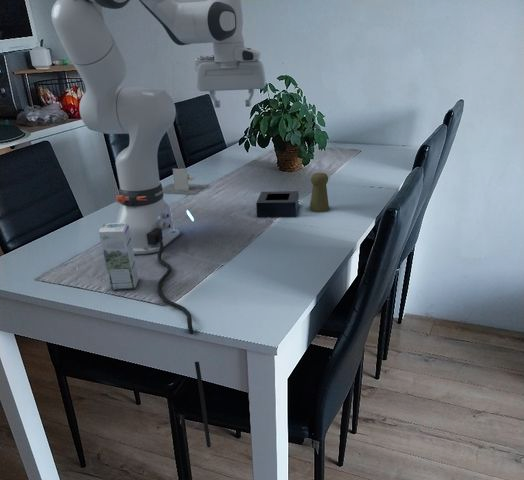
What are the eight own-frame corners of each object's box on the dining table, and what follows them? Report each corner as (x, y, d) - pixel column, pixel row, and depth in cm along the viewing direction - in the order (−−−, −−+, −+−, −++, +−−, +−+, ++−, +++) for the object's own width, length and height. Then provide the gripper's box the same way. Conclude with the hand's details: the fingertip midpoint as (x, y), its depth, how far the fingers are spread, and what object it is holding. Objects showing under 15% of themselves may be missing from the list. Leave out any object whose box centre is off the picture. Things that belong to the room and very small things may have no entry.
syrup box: (139, 279, 132) (128, 221, 124) (135, 289, 127) (123, 229, 119) (115, 280, 132) (103, 222, 124) (110, 291, 127) (97, 231, 119)
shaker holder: (295, 216, 165) (295, 202, 163) (257, 217, 167) (256, 202, 164) (298, 204, 175) (298, 190, 173) (262, 205, 177) (261, 191, 174)
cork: (329, 205, 173) (329, 170, 167) (329, 211, 168) (329, 175, 162) (310, 206, 173) (309, 171, 168) (309, 212, 168) (309, 176, 162)
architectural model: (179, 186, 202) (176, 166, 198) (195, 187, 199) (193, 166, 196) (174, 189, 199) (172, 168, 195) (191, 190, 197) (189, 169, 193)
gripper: (191, 56, 154) (196, 109, 161) (262, 53, 151) (264, 107, 158) (196, 55, 159) (201, 106, 166) (265, 52, 156) (267, 104, 163)
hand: (232, 106), depth 162 cm, fingers open, 8 cm apart
